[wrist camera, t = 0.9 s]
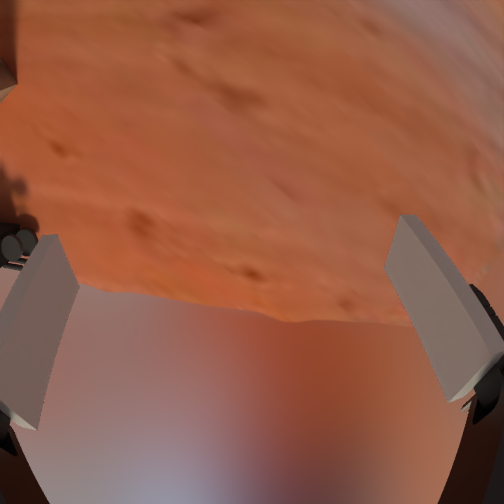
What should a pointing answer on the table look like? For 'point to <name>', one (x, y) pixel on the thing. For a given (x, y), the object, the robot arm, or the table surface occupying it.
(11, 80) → the book
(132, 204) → the table surface
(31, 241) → the character figurine
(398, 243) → the robot arm
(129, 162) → the table surface
